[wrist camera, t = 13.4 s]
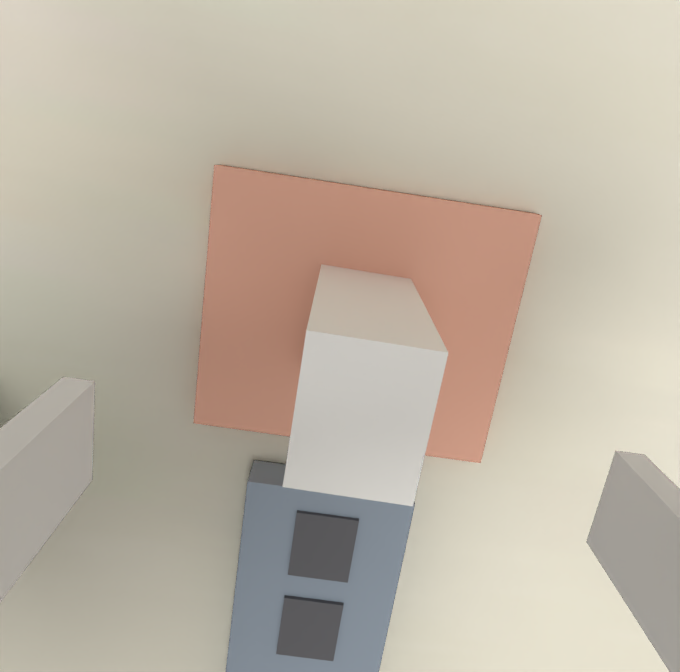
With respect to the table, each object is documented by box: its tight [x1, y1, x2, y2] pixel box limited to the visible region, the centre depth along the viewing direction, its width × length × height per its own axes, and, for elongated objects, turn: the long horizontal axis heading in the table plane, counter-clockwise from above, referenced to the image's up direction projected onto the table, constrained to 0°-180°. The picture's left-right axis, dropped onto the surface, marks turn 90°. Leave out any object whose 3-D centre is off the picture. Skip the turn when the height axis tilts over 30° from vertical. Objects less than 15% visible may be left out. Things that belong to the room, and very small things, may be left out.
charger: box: [283, 264, 448, 506], centre depth 22 cm, size 4×5×10 cm
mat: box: [194, 165, 542, 463], centre depth 27 cm, size 14×12×1 cm
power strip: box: [226, 460, 415, 672], centre depth 32 cm, size 8×22×2 cm, turn 172°
